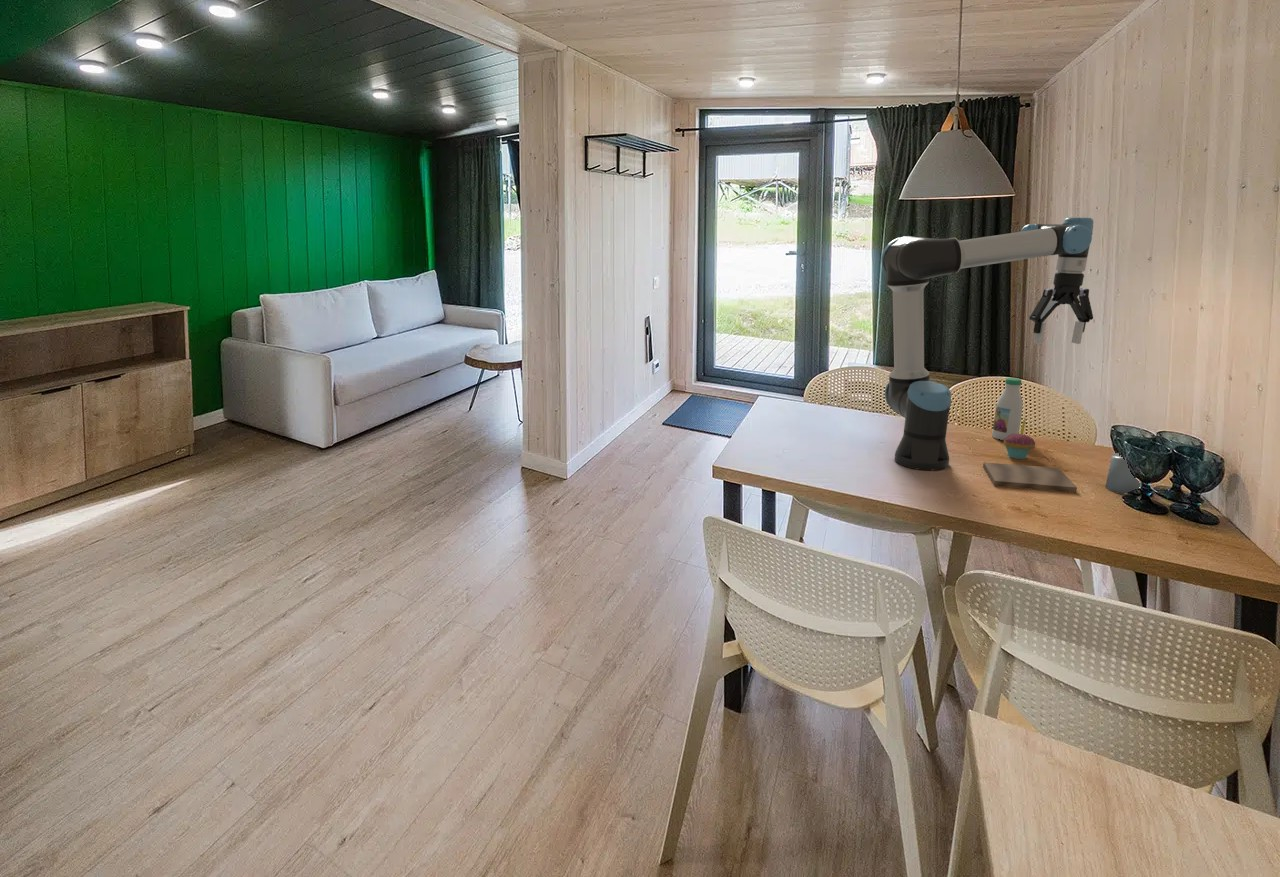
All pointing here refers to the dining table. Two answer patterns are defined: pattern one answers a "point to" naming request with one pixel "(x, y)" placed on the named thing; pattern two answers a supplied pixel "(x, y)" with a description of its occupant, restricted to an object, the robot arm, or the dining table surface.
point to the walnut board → (1029, 477)
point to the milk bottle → (1008, 410)
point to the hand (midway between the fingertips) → (1056, 343)
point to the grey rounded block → (1120, 476)
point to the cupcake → (1019, 444)
